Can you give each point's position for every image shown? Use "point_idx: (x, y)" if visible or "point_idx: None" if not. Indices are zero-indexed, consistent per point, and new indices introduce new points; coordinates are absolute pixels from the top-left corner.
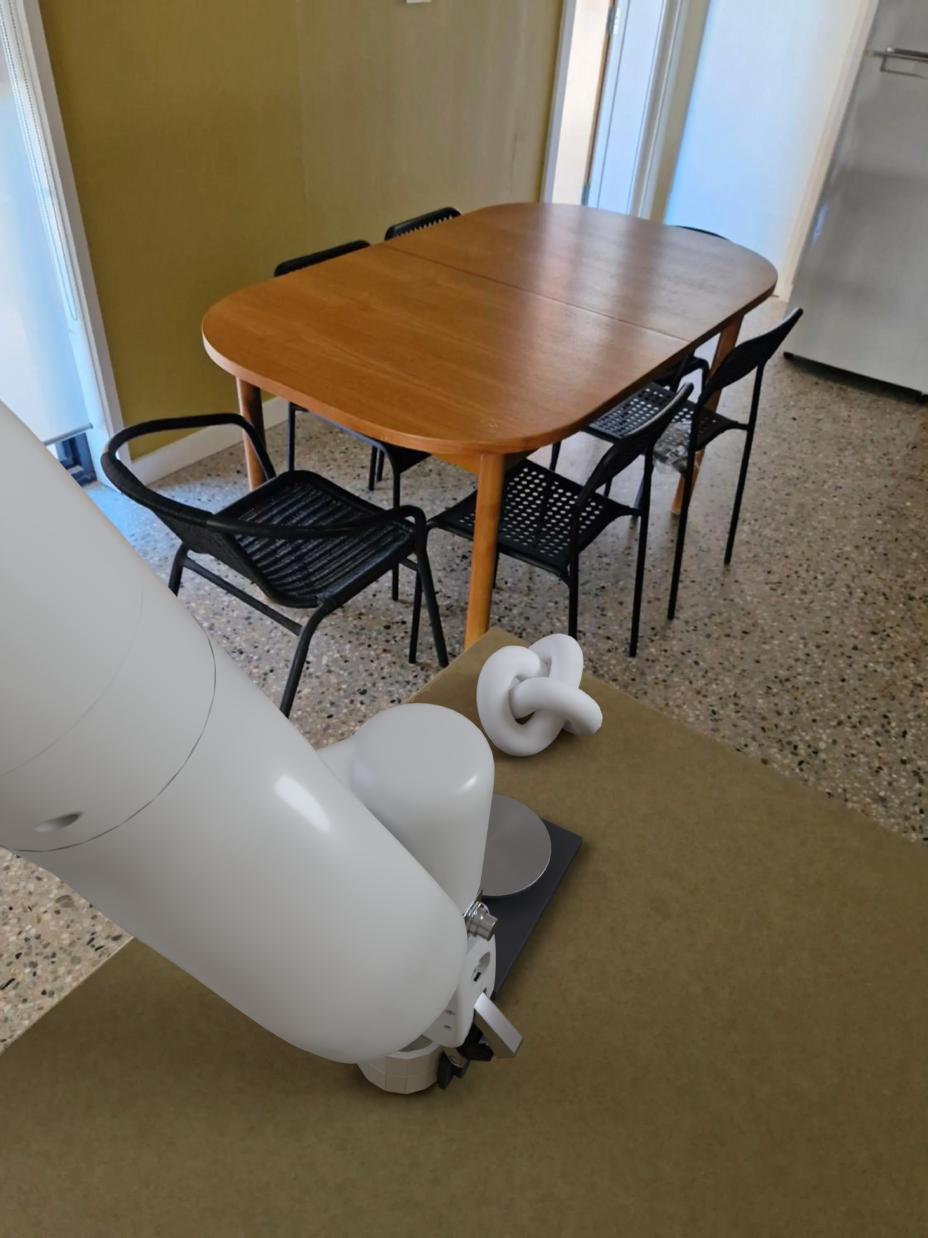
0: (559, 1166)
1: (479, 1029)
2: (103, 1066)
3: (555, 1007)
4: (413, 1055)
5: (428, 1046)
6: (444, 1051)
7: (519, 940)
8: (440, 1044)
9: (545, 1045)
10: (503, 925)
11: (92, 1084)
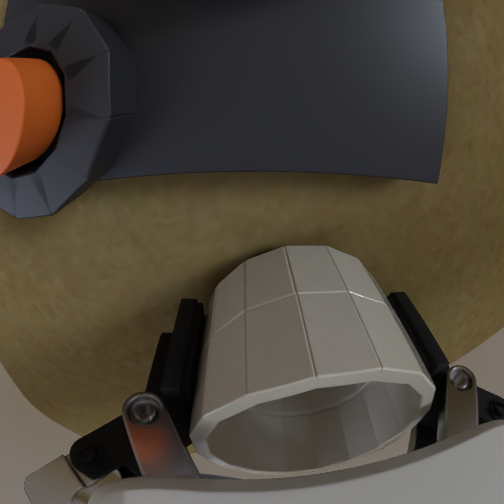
0: (489, 311)
1: (478, 423)
2: (67, 409)
3: (492, 138)
4: (361, 457)
5: (383, 444)
6: (410, 435)
7: (438, 40)
8: (407, 452)
9: (487, 204)
10: (391, 9)
11: (75, 417)
